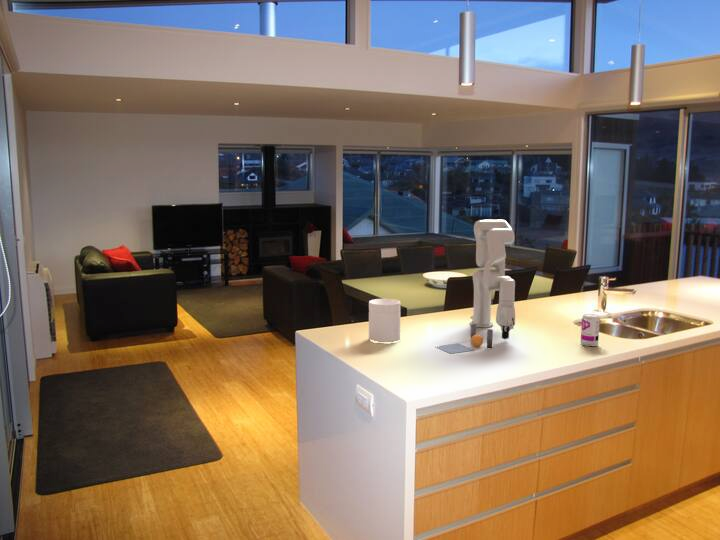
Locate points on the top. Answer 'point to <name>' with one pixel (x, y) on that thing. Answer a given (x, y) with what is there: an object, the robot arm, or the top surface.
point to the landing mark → (454, 348)
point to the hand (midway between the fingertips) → (505, 338)
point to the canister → (384, 320)
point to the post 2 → (489, 338)
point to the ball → (477, 340)
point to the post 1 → (473, 329)
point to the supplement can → (590, 330)
